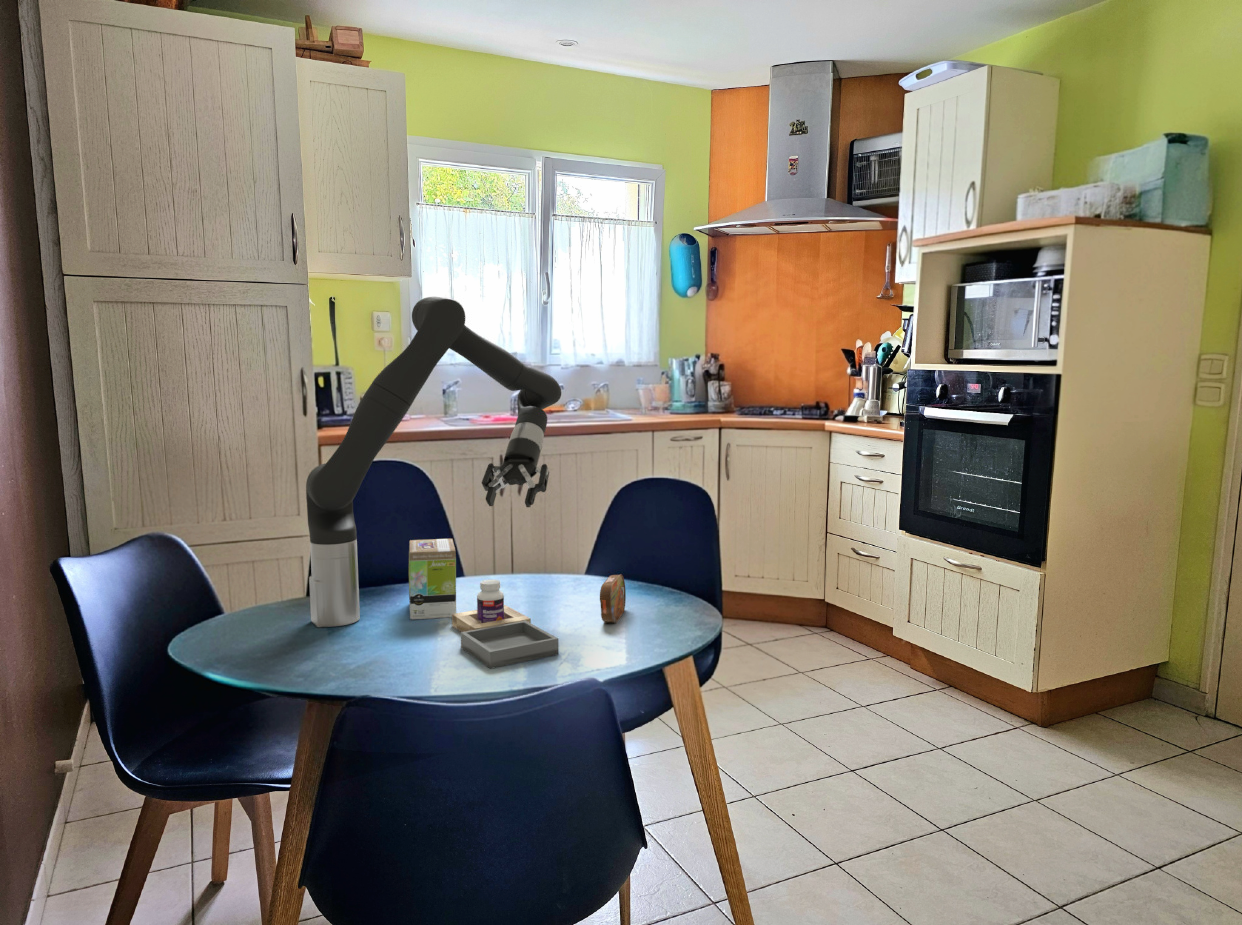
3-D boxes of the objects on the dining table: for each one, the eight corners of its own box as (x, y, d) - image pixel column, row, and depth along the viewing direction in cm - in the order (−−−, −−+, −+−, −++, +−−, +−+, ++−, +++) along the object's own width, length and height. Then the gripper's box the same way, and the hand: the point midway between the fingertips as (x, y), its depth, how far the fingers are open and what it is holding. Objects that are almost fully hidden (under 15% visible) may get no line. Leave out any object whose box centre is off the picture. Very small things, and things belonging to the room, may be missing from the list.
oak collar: (475, 641, 159) (474, 628, 159) (452, 625, 169) (451, 613, 169) (530, 630, 166) (530, 618, 165) (505, 616, 176) (505, 605, 175)
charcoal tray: (490, 668, 144) (489, 651, 144) (460, 647, 155) (460, 632, 155) (558, 654, 151) (558, 638, 151) (525, 635, 163) (525, 620, 162)
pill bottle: (482, 633, 164) (481, 586, 163) (474, 626, 169) (473, 580, 168) (508, 629, 166) (507, 582, 165) (499, 622, 171) (498, 577, 170)
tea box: (458, 617, 175) (456, 549, 174) (409, 621, 173) (407, 552, 172) (454, 599, 190) (453, 536, 189) (409, 602, 188) (407, 538, 186)
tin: (612, 627, 167) (612, 587, 167) (597, 627, 168) (597, 586, 167) (627, 607, 182) (626, 570, 181) (613, 607, 183) (612, 570, 182)
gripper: (490, 436, 185) (472, 493, 175) (551, 436, 182) (536, 494, 172) (499, 457, 191) (482, 514, 181) (558, 457, 188) (544, 515, 178)
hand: (508, 504), depth 176 cm, fingers open, 8 cm apart
